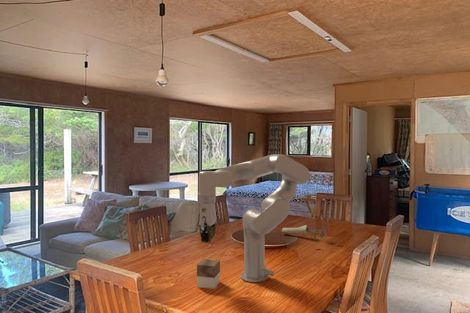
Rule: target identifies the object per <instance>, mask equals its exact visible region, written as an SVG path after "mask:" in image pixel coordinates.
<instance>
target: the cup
mask: <svg viewBox="0 0 470 313" xmlns="http://www.w3.org/2000/svg"><path fill="white" fill-rule="evenodd" d="M205 225H206V224H205ZM198 226H199V227H198V228H199V230H198V231H199V236H200V237H201V225H200V224H198ZM216 226H217V224H216V223H214V224H213V225H212V226H209V227H208V233H209V242H203V243H204V244H210V243H212V241H213V240H212V239H214V237H215V234H216V228H217V227H216ZM205 228H207V227H205Z"/></svg>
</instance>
